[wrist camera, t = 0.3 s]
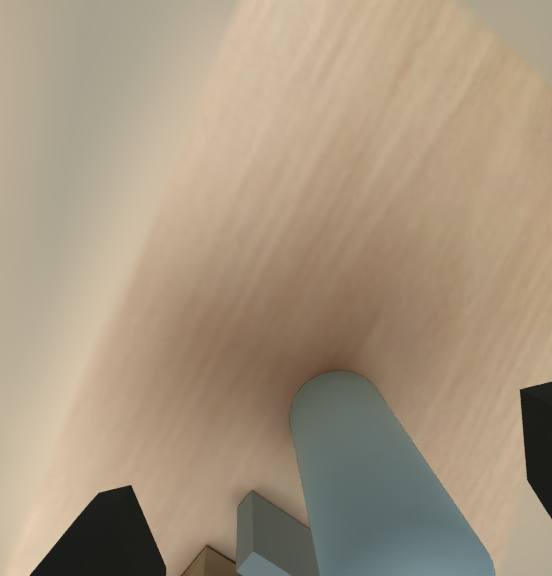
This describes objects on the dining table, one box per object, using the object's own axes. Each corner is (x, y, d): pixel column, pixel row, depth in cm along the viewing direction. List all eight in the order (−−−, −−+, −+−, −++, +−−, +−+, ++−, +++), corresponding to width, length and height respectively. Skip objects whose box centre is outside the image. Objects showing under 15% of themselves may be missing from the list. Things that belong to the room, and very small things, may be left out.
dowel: (343, 476, 20) (419, 692, 12) (269, 425, 20) (290, 613, 11) (403, 406, 20) (530, 575, 11) (330, 351, 19) (403, 485, 10)
